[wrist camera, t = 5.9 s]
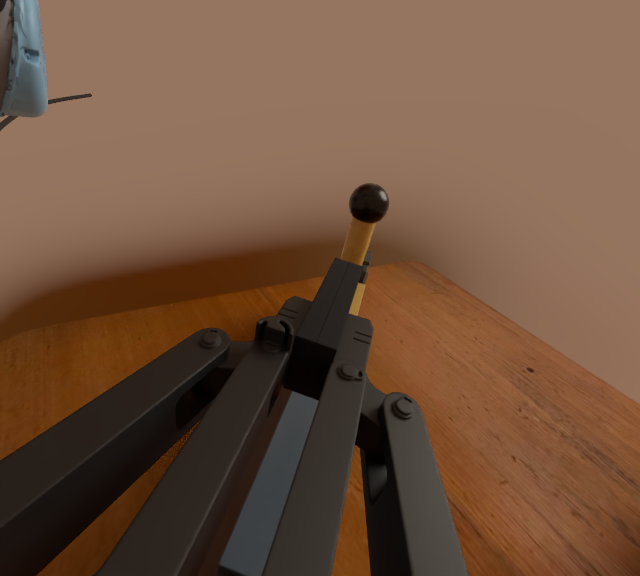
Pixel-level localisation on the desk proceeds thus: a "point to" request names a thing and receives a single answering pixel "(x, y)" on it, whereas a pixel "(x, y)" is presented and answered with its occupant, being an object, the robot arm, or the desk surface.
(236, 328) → the desk surface
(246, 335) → the desk surface
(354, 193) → the bolt
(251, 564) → the sliding lever mechanism
